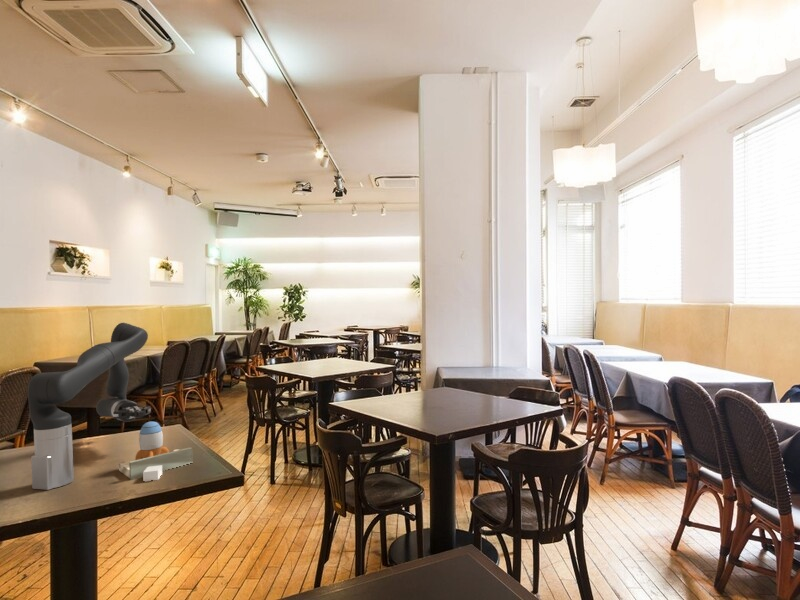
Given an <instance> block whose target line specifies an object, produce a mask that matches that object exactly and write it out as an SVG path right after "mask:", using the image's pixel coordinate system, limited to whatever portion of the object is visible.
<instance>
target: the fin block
mask: <svg viewBox="0 0 800 600" xmlns="http://www.w3.org/2000/svg"><path fill="white" fill-rule="evenodd" d="M161 475H162V476H163V471H162V465H159V466H150V467H147V468H146V469H145V470H144V472H143V477H142V478H143V479H142V480H143V481H145V482H152V481H151V480H153V481H159V480H160V478H161V477H162V476H161ZM160 476H161V477H160Z"/></svg>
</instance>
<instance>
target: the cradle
mask: <svg viewBox="0 0 800 600" xmlns="http://www.w3.org/2000/svg"><path fill="white" fill-rule="evenodd" d="M193 461H194V456H193V447H190V446H189V447H186V448H181V449H179V448H176V449H173V450H172V451H169V453H164V454H160V455H156V456H152V457H148V458H143V459H139V460H131V461H129V462H128V463H127V462H126V461H120V462H118V470H119V472H120V473H122V474H123V475H124V476H125V477H128V478H129V479H130V480H136V479H138V478H139V479H140V478H143V472H144V470H145V469H146V468H147V467H150V466H159V465H162V472H165V470H166V471H169V470H168V469H170V470H173V469H172V468H174V469H176V467H178V468H180V467H179V466H181V467H184V466H183V465H185V466H187V465H186V464H189V465H191V464H190V463H193V464H194V462H193Z"/></svg>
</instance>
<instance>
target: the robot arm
mask: <svg viewBox="0 0 800 600" xmlns="http://www.w3.org/2000/svg"><path fill="white" fill-rule="evenodd" d="M148 338H149V333H148V331H147V330H145V329H144V328H142V327H139V326H136V325H134V324H133V325H132V324H131V323H127V322H120V323H118V324H117V325H116V326H115V327H114V328H113V331H112V333H111V337H110V342H109V341H108V342H103V343H102V342H101V343H98V344H95V345H93V346H92V347H90V348H88V349H86V350H84V351H83V352H82V353H81V354H80V355H79V356H78V358H77V361H76V366H74V367H73V368H71V369H68V370H66V371H65V370H64V371H54V372H52V371H51V372H50V371H49V372H48V371H47V372H39V373H36V374H35V375H33V376H32V377H31V378H30V381H29V383H28V387H27V399H28V407H29V408H28V409H29V417H30V420H31V423H32V425H33V444H34V445H33V449H34V450H33V451H34V455H32V456H31V458H30V459H31V460H30V462H31V481H32V482H31V487H32V489H33V490H34V489H35V490H44V491H45V490H46V491H48V490H51V489H56V488H59V487H63V486H66V485H69V484H71V483H73V482H74V480H75V479H74V478H75V475H74V456H73V454H74V451H73V430H72V424H73V423H72V416H71V414H70V413H69V412H65V411H64V410H61V409H60V408H58V407H57V405H56V404H62V403H66V402H69V401H70V400H73V398H74V397H75V396H76V395H78V394H79V393H80V392H81V391H82V390H83V389H84V388H85V387H86V386H88V384H90V383H91V382H93V381H94V380H95V379H97V378H98V377H99V376H101V375H102V374H103V373H105V372H107V371H108V370H109V372H108V373H109V374H108V378H107V382H106V387H105V393H106V394H107V395H108V396H110V397H105V398H101V399H100V400H98V401H97V404H96V406H95V408H96V413H97V414H98V415H99V416H100V417H103V418H111V417H112V418H113V419H114V420H118V421H122V422H125V423H127V422H128V423H129V422H133V421H134V420H136V419H140V418H143V417H145V416H147V415H149V414H151V413H152V410H151V409H152V408H151V405H147V406H145V407H142V406H141V407H140V405H138V403H137V402H136V401H133V400H129V399H127V387H128V386H129V385H128V384H129V380H130V372H129V368H128V366H127V364H126V361H125V358H127V357H129V356H131V355H134V354H135V353H137V352H139V351H140V350H141V349H142V348H143V347H144V346H145V345H146V343H147V341H148Z"/></svg>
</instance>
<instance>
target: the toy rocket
mask: <svg viewBox="0 0 800 600" xmlns="http://www.w3.org/2000/svg"><path fill="white" fill-rule="evenodd" d="M163 441H164V434H163V430H162V427H161V425H160V424H159V422H157V421H148V422H145V423H144V424H143V425H142V426H141V428H140V430H139V435H138V445H139V450H138V451H137V452H136V454H135V460H139V459H143V458H148V457H152V456H156V455H160V454H164V453H169V452H170V450H169V449H168V447H166V446H164V445H163V443H164V442H163ZM135 460H134V461H135Z"/></svg>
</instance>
